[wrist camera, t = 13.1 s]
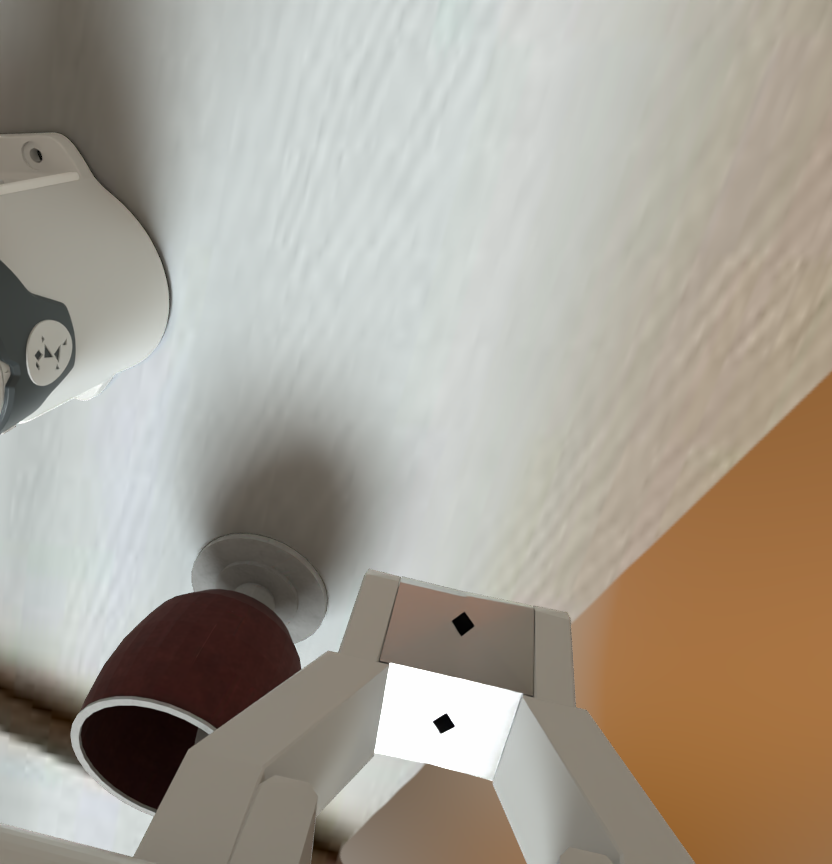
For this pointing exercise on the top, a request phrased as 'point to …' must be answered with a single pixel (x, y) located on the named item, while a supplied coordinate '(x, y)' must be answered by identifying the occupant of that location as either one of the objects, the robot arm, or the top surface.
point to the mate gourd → (197, 664)
